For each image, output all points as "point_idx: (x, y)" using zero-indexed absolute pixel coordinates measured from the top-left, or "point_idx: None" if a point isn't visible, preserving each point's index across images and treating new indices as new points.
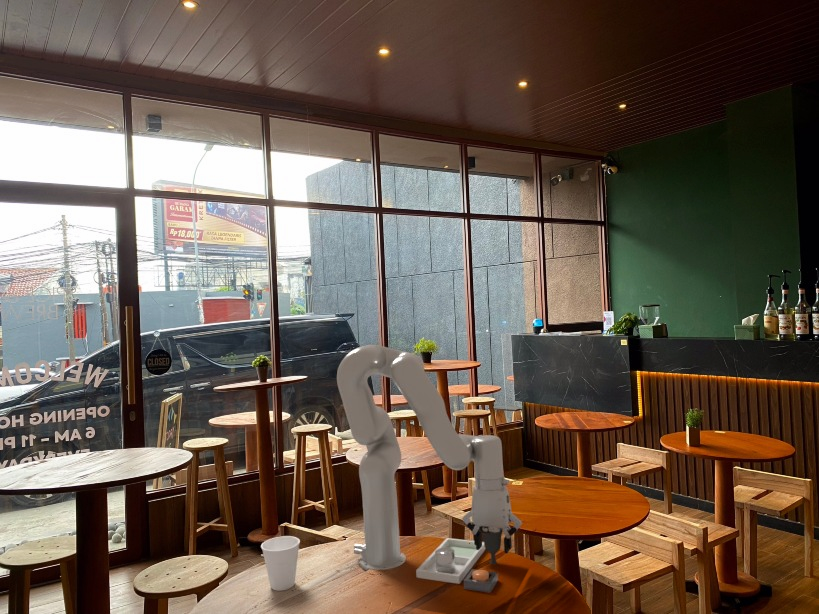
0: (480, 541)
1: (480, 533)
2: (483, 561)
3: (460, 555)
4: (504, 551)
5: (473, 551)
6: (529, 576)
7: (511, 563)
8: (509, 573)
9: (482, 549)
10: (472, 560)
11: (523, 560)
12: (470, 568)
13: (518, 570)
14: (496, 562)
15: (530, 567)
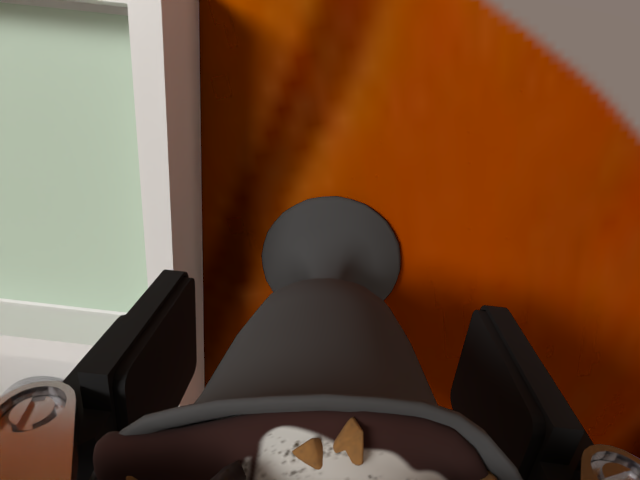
0: (172, 355)
1: (130, 414)
2: (233, 188)
3: (31, 199)
4: (453, 407)
5: (97, 88)
6: (587, 357)
7: (461, 185)
8: (452, 338)
9: (177, 97)
10: None
11: (568, 105)
12: (195, 388)
13: (515, 289)
14: (353, 279)
15: (614, 229)
